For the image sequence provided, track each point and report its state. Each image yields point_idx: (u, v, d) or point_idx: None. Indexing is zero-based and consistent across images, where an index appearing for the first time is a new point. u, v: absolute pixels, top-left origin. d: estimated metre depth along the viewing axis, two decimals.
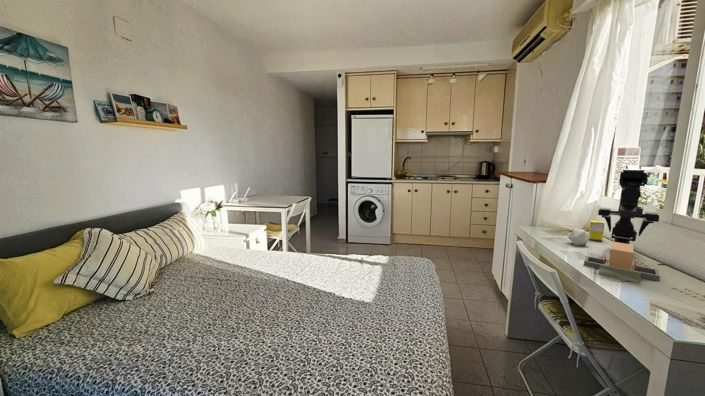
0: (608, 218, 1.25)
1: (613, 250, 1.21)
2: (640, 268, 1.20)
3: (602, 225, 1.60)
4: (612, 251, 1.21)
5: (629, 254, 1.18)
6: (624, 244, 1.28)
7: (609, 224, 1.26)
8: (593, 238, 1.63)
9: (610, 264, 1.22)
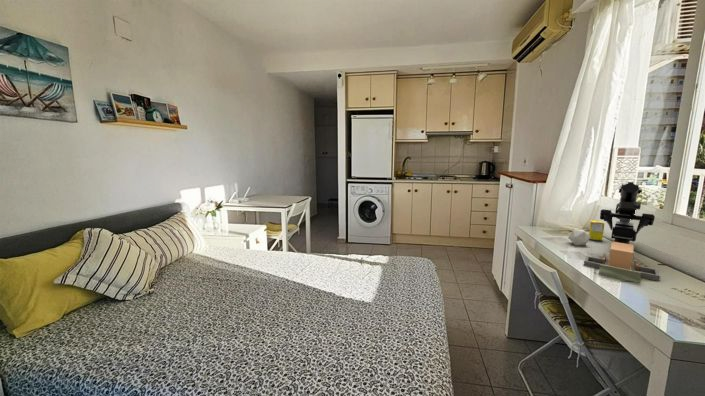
0: (610, 215, 1.39)
1: (613, 250, 1.21)
2: (640, 268, 1.20)
3: (602, 225, 1.60)
4: (612, 251, 1.21)
5: (629, 254, 1.18)
6: (624, 244, 1.28)
7: (611, 222, 1.38)
8: (593, 238, 1.63)
9: (610, 264, 1.22)
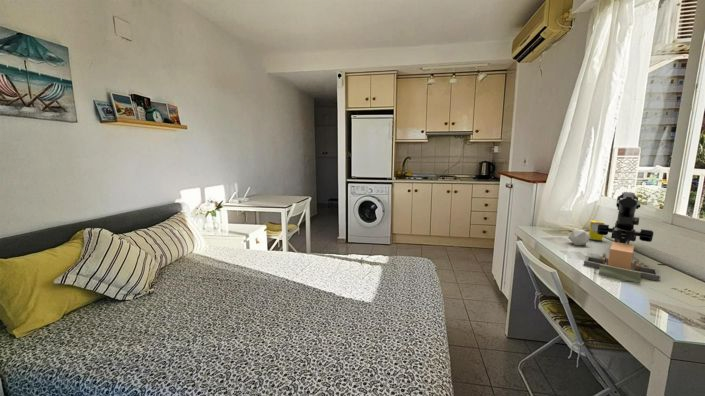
0: (620, 232, 1.32)
1: (612, 250, 1.21)
2: (640, 268, 1.20)
3: None
4: (611, 251, 1.21)
5: (628, 254, 1.17)
6: (625, 244, 1.27)
7: (620, 239, 1.31)
8: (593, 238, 1.63)
9: (609, 264, 1.22)
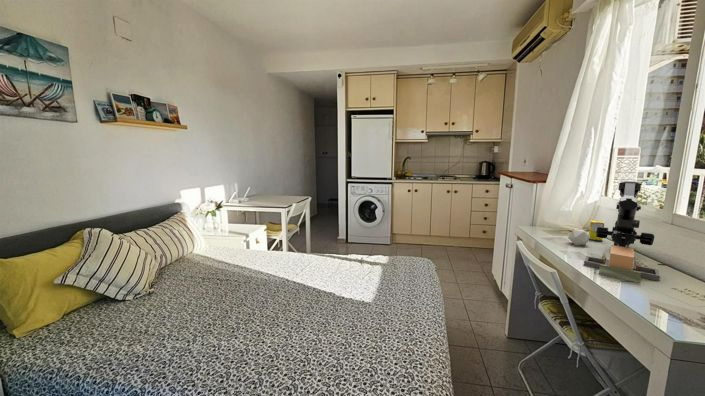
0: (619, 235, 1.27)
1: (613, 254, 1.16)
2: (640, 268, 1.20)
3: (602, 225, 1.60)
4: (612, 255, 1.16)
5: (629, 259, 1.12)
6: (624, 248, 1.23)
7: (620, 243, 1.26)
8: (593, 238, 1.63)
9: None
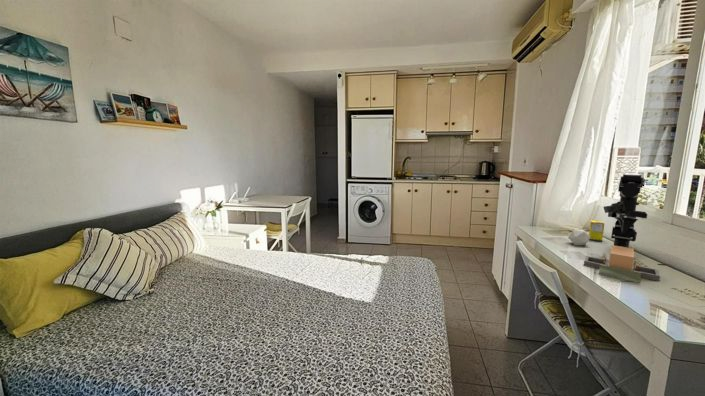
0: (617, 218, 1.35)
1: (613, 254, 1.16)
2: (640, 268, 1.20)
3: (602, 225, 1.60)
4: (612, 255, 1.16)
5: (629, 259, 1.12)
6: (624, 248, 1.23)
7: (620, 225, 1.34)
8: (593, 238, 1.63)
9: None
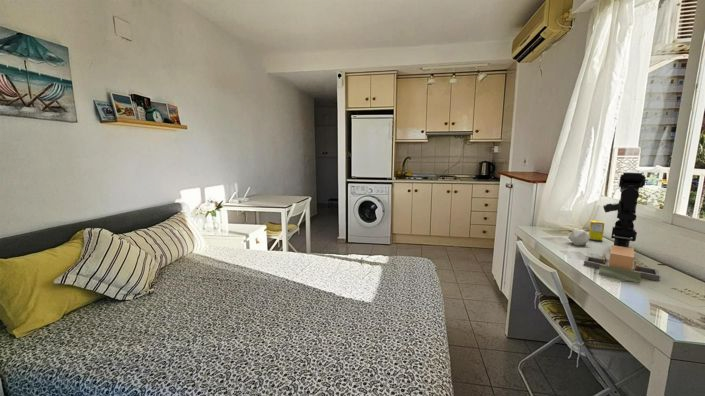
0: None
1: (613, 254, 1.16)
2: (640, 268, 1.20)
3: (602, 225, 1.60)
4: (612, 255, 1.16)
5: (629, 259, 1.12)
6: (624, 248, 1.23)
7: (621, 223, 1.35)
8: (593, 238, 1.63)
9: None
